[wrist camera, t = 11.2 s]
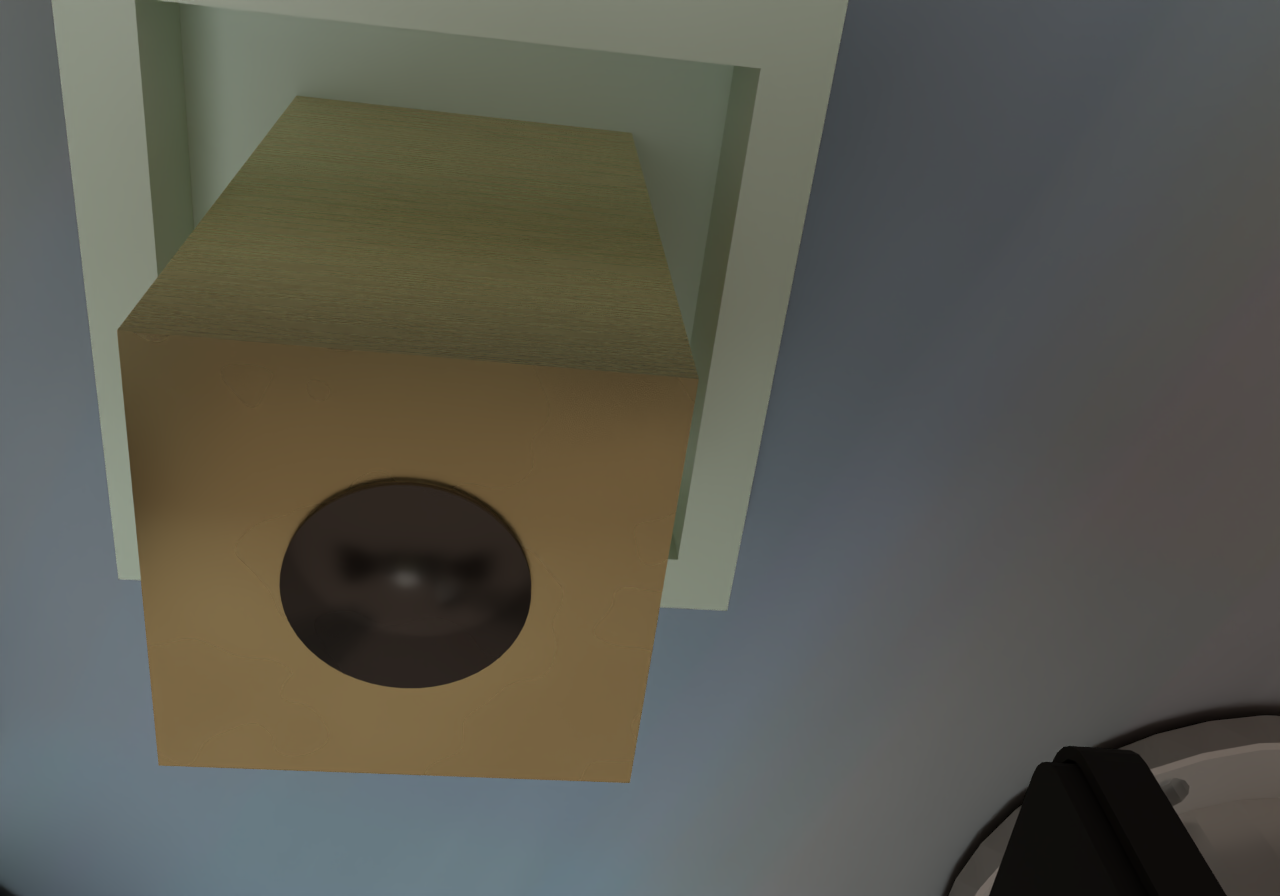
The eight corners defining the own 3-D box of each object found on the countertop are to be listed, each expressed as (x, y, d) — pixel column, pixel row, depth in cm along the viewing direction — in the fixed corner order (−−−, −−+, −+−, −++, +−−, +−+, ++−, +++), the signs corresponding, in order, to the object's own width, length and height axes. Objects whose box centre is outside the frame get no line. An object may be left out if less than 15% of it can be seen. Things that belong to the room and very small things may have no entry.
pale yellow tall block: (631, 132, 18) (700, 384, 10) (595, 419, 20) (630, 789, 13) (296, 95, 17) (113, 334, 10) (300, 396, 20) (156, 771, 12)
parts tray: (809, -28, 17) (849, -2, 15) (708, 529, 22) (727, 610, 20) (106, -117, 16) (39, -101, 14) (161, 496, 21) (118, 579, 19)
